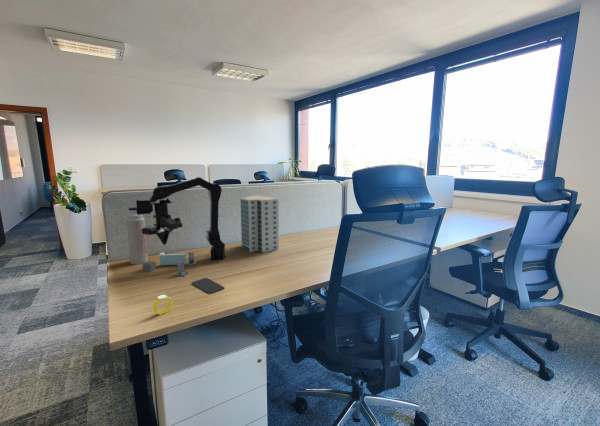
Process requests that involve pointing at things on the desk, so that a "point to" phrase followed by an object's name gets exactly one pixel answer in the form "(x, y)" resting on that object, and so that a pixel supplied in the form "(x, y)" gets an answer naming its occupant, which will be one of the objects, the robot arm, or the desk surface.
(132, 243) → the thermos bottle
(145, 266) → the dark gray cube
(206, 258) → the desk surface
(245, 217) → the building model
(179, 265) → the grey block
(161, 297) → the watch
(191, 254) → the post
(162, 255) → the light blue bar
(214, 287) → the phone
